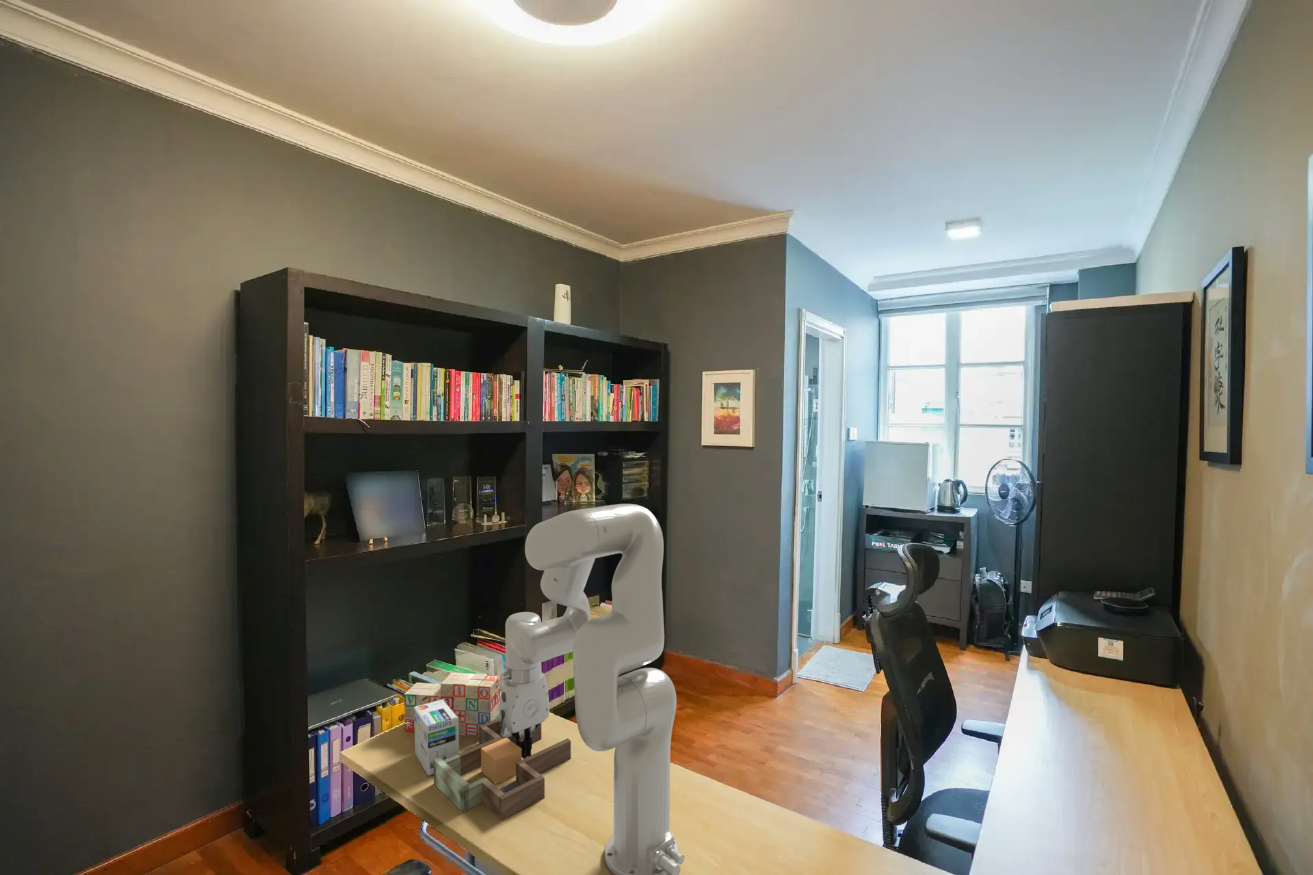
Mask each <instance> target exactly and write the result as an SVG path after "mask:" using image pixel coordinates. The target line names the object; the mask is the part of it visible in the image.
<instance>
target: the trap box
mask: <svg viewBox="0 0 1313 875" xmlns="http://www.w3.org/2000/svg"><path fill="white" fill-rule="evenodd" d="M501 728H502V726H501V725H500V720H499V718H498V719H496V720H493V721H491V722H488V723H486V724H483V725H481V726H479V737H478V743H479V744H478V745H476V746H473V747H471V748H469V749H466V750H464V751H462V752H459V754H457V755H455V756H452V757H450V758H448V759H445V760H442V759H441V758H436V759H434V774H433V785H434V786H435V787H436V788H438V789H439V791H441V792H442V793H443V794H444V795H445V796H446V797H447V798H448V799H449V800H450V801H451V802H452V803H453V804H454V805H455V806H456V807H457V808H458V809H460V811H461V812H462V813H465V812H467V811H469V810H471V809H473V808H474V807H477V806H478V805H481V804H483V805H484V806H485V807H487V809H489V811H491V812H492V813H493V814H494V815H496V816H497V817H498V818H499V819H500V820H501V821H504V820H506V819H507V818H509V817H512V816H513V815H515V814H517V813H519V812H521V811H522V810H524V809H526V808H527V807H530V806H532V805H533V804H535V803H538V802H539V801H541V800H543V799H545V796H546V795H545V794H546V793H545V791H546V789H545V787H546V786H545V785H546V784H545V780H546V779H545V778H546V777H544V775H542V773H545V772H547V771H549V770H550V769H553V768H555V767H556V766H559V765H561V764H562V763H564V762H567V761H568V760H570V759H571V758H572V750H571V749H572V746H571V745H572V740H571V739H570V738H566V739H563V740H560V741H559V742H557V743H554V744H552V745H550V746H549V747H546V748H543V749H542V750H540V751H537V752H536V753H533V754H531V756H529V757H527V758H525V759H523V758H522V760H520V761H518V762H516V775H515V780H514V781H512V782H510V783H507V784H506V785H503V786H502V787H498V786H496V784H493V783H492V782H491V780H490V779H489V778H486V777H485V776H484V777H483V778H479V779H478V780H475V781H474V782H471V783H470V784H469V782H468V781H467V780H465V779H464V778H463V777H462V775H464V774H467V773H469V772H472V771H473V770H476V769H478V768H481V748H483V747H485V746H488V745H490V744H492V743H495V742H497V741H499V740H502V739H504V737H503V736H501V734H500V733H501ZM506 738H508V739H509V740H510V741H512V742H513V743H515V744H516V738H515V737H513V736H511V737H506ZM541 739H542V723H541V724H539V725H538V727H537V728H536V730H535V734H534V736H533V737H532V744H534V743H535V742H537V741H540V740H541Z"/></svg>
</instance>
